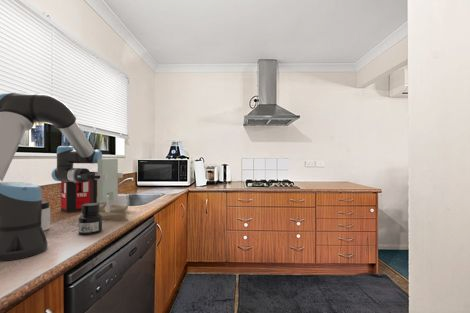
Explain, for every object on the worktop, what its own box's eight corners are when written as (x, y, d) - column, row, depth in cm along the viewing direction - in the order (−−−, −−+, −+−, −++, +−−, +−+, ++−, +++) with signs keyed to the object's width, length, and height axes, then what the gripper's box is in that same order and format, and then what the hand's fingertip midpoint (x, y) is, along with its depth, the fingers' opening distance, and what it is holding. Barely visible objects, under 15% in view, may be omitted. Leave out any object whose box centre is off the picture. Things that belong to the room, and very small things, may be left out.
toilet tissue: (114, 215, 140) (114, 197, 140) (100, 213, 145) (100, 195, 145) (130, 211, 150) (130, 194, 150) (116, 209, 155) (116, 193, 155)
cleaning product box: (90, 206, 164) (90, 175, 164) (96, 208, 158) (97, 176, 158) (60, 210, 150) (61, 177, 150) (66, 212, 145) (67, 178, 145)
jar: (22, 233, 105) (23, 205, 105) (25, 229, 112) (25, 202, 112) (49, 230, 110) (49, 203, 110) (50, 226, 117) (50, 200, 117)
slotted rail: (124, 220, 128) (124, 206, 128) (88, 217, 133) (88, 204, 133) (127, 219, 131) (127, 205, 131) (91, 216, 136) (91, 203, 136)
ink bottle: (72, 235, 104) (72, 206, 104) (84, 229, 113) (85, 202, 113) (96, 235, 104) (96, 206, 104) (106, 229, 113) (107, 202, 113)
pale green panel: (102, 202, 127) (102, 159, 126) (97, 202, 127) (97, 159, 127) (117, 199, 137) (117, 158, 137) (112, 198, 138) (113, 158, 138)
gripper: (96, 180, 148) (129, 181, 143) (59, 184, 125) (97, 186, 120) (96, 167, 148) (129, 168, 143) (59, 169, 125) (97, 170, 120)
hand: (114, 176), depth 131 cm, fingers closed on pale green panel, 11 cm apart
